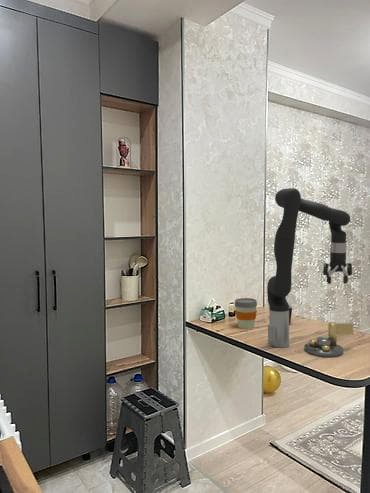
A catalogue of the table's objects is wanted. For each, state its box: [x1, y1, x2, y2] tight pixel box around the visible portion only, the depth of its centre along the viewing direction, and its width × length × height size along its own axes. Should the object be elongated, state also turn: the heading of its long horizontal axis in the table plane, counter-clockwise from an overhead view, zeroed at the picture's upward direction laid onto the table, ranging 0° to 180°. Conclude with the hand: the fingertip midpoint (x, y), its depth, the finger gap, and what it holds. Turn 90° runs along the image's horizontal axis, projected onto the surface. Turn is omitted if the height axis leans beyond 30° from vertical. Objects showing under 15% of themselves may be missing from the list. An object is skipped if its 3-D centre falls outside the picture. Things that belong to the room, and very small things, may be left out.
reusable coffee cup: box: [234, 297, 258, 330], centre depth 221 cm, size 13×13×15 cm
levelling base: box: [303, 335, 345, 358], centre depth 179 cm, size 17×17×6 cm
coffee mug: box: [289, 305, 293, 326], centre depth 226 cm, size 12×9×10 cm
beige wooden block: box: [327, 321, 354, 347], centre depth 180 cm, size 11×4×10 cm, turn 86°
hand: (337, 283), depth 197 cm, fingers open, 8 cm apart
